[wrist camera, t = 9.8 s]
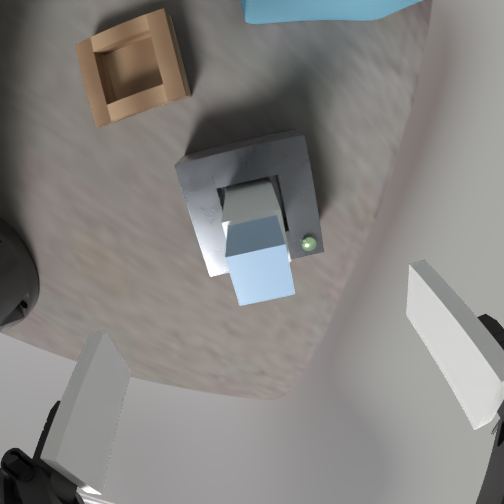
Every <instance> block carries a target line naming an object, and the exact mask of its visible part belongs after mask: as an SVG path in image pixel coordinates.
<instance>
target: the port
mask: <svg viewBox="0 0 504 504" xmlns="http://www.w3.org/2000/svg"><path fill="white" fill-rule="evenodd" d="M175 168H176V171H177V175H178V178H179V181H180V185H181V188H182V191H183V194H184V198H185V201H186V204H187V207H188V210H189V214H190V217H191V220H192V223H193V226H194V229H195V232H196V235H197V238H198V241H199V245H200V248H201V251H202V254H203V257H204V260H205V263H206V266H207V269H208V271H209V274H210V276H215V275H220V274H225V273H229V269H228V266H227V262H226V259H225V252H226V237H225V233H224V230H223V226H222V215H223V208H224V201H225V193H226V186H229V185H234V184H238V183H242V182H247V181H251V180H255V179H260V178H264V177H269V178H270V181H271V184H272V187H273V189H274V192H275V195H276V198H277V200H278V203H279V206H280V209H281V213H282V218H283V223H284V228H285V233H286V238H287V243H288V248H289V253H290V259H294V258H298V257H303V256H307V255H312V254H316V253H321V252H324V248H323V241H322V234H321V227H320V220H319V214H318V207H317V201H316V195H315V189H314V183H313V177H312V171H311V166H310V160H309V155H308V149H307V144H306V139H305V135H304V134H302V133H300V132H299V131H297V130H295V129H294V130H289V131H284V132H279V133H274V134H269V135H265V136H260V137H255V138H251V139H246V140H242V141H238V142H234V143H229V144H225V145H221V146H217V147H213V148H210V149H206V150H202V151H198V152H194V153H191V154H187V155H184V156H183V157H182V158H181V159H180V160H179V162H178V163H177V164H176V165H175Z"/></svg>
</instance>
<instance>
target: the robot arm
mask: <svg viewBox="0 0 504 504" xmlns="http://www.w3.org/2000/svg"><path fill="white" fill-rule="evenodd" d="M408 282H409V283H408V297H407V298H408V299H407V311H406V316H407V317H408V319H409V320H410V322H411V323H412V325H413V326H414V328H415V329H416V331H417V332H418V334H419V336H420V337H421V339H422V340H423V342H424V343H425V345H426V347H427V348H428V350H429V351H430V353H431V355H432V356H433V358H434V359H435V361H436V363H437V364H438V366H439V368H440V370H441V371H442V373H443V375H444V376H445V378H446V379H447V381H448V383H449V385H450V386H451V388H452V390H453V391H454V394H455V395H456V397H457V399H458V401H459V402H460V404H461V406H462V408H463V410H464V412H465V413H466V415H467V417H468V419H469V421H470V422H471V424H472V427H473V428H474V430H476V429H478V428H479V427H481V426H483V425H485V424H487V423H489V422H490V421H491V420H492V419H493V418H494V416H495V414H496V413H497V412H498V414H499V416H500V420H499V421H498V423H497V425H496V426H495V427H494V429H493V431H492V433H491V434H494V433H495V432H496V430H497V432H496V437H495V441H494V446H493V449H492V453H491V457H490V461H489V465H488V468H487V472H486V475H485V478H484V481H483V484H482V487H481V490H480V493H479V496H478V499H477V502H476V504H504V329H503V327H502V326H501V325H500V324H499V323H498V322H497V320H495V319H493V318H492V317H490V316H488V315H487V314H484V315H481V316H479V317H476V316H475V315H474V313H473V312H472V311H471V310H470V309H469V307H468V306H467V305H466V304H465V303H464V302H463V301H462V299H461V298H460V297H459V296H458V295H457V294H456V293H455V292H454V290H453V289H452V288H451V287H450V286H449V285H448V284H447V283H446V282H445V281H444V280H443V278H441V276H440V275H439V274H438V273H437V272H436V271H435V270H434V269H433V268H432V267H431V266H430V265H429V264H428V263H427V262H426V261H425V260H421V261H418V262H414V263H411V264H409V281H408ZM38 295H39V282H38V276H37V272H36V268H35V265H34V263H33V260H32V258H31V256H30V254H29V252H28V250H27V248H26V246H25V245H24V243H23V242H22V240H21V239H20V238H19V236H18V235H17V234H16V233H15V232H14V230H13V229H12V228H11V227H10V226H8V225H7V224H6V223H5V222H4V221H2V220H1V219H0V334H1V333H2V332H4V331H6V330H8V329H9V328H11V327H13V326H14V325H16V324H18V323H20V322H21V321H23V320H24V319H25V318H26V317H27V316H28V314H29V313H30V312H31V310H32V309H33V308H34V306H35V305H36V302H37V300H38ZM130 375H131V371H130V369H129V368H128V366H127V365H126V363H125V362H124V360H123V359H122V357H121V356H120V354H119V352H118V351H117V349H116V348H115V346H114V344H113V343H112V341H111V340H110V338H109V336H108V335H107V333H106V331H105V330H102V331H96V332H91V334H90V336H89V338H88V340H87V342H86V344H85V346H84V349H83V351H82V353H81V355H80V357H79V360H78V362H77V364H76V366H75V369H74V371H73V373H72V376H71V378H70V381H69V383H68V385H67V387H66V390H65V392H64V395H63V397H62V400H61V401H57V402H56V404H55V405H54V406H53V408H52V409H51V410H50V413H49V415H48V418H47V422H46V423H45V426H44V430H43V431H42V434H41V436H40V439H39V442H38V445H37V447H36V450H35V453H34V456H33V458H32V459H31V458H30V457H29V456H27V455H26V454H25V453H24V452H23V451H21V450H20V449H19V448H12V449H10V450H8V451H7V452H6V453H5V454H4V456H3V458H2V460H1V468H0V504H84V501H83V500H82V498H81V496H80V495H79V493H78V492H76V490H77V486H78V487H79V488H81V489H82V490H84V491H85V492H87V493H94V494H100V495H102V493H103V488H104V483H105V478H106V473H107V468H108V464H109V459H110V455H111V450H112V446H113V442H114V437H115V433H116V429H117V425H118V421H119V417H120V413H121V409H122V405H123V401H124V397H125V394H126V390H127V386H128V383H129V379H130Z"/></svg>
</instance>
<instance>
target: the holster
mask: <svg viewBox="0 0 504 504" xmlns="http://www.w3.org/2000/svg"><path fill="white" fill-rule="evenodd" d="M76 50H77V54H78V59H79V63H80V68H81V72H82V76H83V80H84V84H85V88H86V92H87V96H88V100H89V104H90V108H91V111H92V115H93V118H94V122H95V125H96V128H97V127H101V126H104V125H108V124H111V123H114V122H116V121H119V120H121V119H124V118H127V117H129V116H132V115H135V114H138V113H141V112H143V111H146V110H149V109H152V108H155V107H158V106H161V105H164V104H168V103H171V102H174V101H177V100H181V99H184V98H187V97H191V92H190V88H189V84H188V80H187V76H186V72H185V69H184V65H183V61H182V57H181V53H180V49H179V45H178V41H177V37H176V33H175V29H174V25H173V21H172V17H171V16H170V14H169V13H168V12H167V11H166V10H165V9H164V8H162V9H159V10H156V11H154V12H151V13H148V14H145V15H142V16H140V17H137V18H134V19H132V20H129V21H127V22H124V23H122V24H119V25H117V26H115V27H112V28H110V29H108V30H105V31H103V32H101V33H99V34H96V35H94V36H92V37H90V38H88V39H86V40H84V41H82V42H80V43H78V44H76Z"/></svg>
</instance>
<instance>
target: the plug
mask: <svg viewBox="0 0 504 504" xmlns="http://www.w3.org/2000/svg"><path fill="white" fill-rule="evenodd" d="M222 226H223V230H224V233H225V237H226V252H225V259H226V262H227V266H228V269H229V272H230V275H231V279H232V282H233V285H234V288H235V292H236V295H237V298H238V301H239V305H240V306H241V305H246V304H251V303H256V302H261V301H266V300H270V299H275V298H280V297H285V296H289V295H294V294H295V291H294V285H293V280H292V275H291V270H290V265H289V262H291V259H290V253H289V248H288V243H287V238H286V233H285V228H284V223H283V218H282V213H281V209H280V206H279V203H278V200H277V198H276V195H275V192H274V189H273V187H272V184H271V181H270V178H269V177H264V178H260V179H255V180H251V181H247V182H242V183H238V184H234V185H229V186H226V193H225V201H224V208H223V215H222Z"/></svg>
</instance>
